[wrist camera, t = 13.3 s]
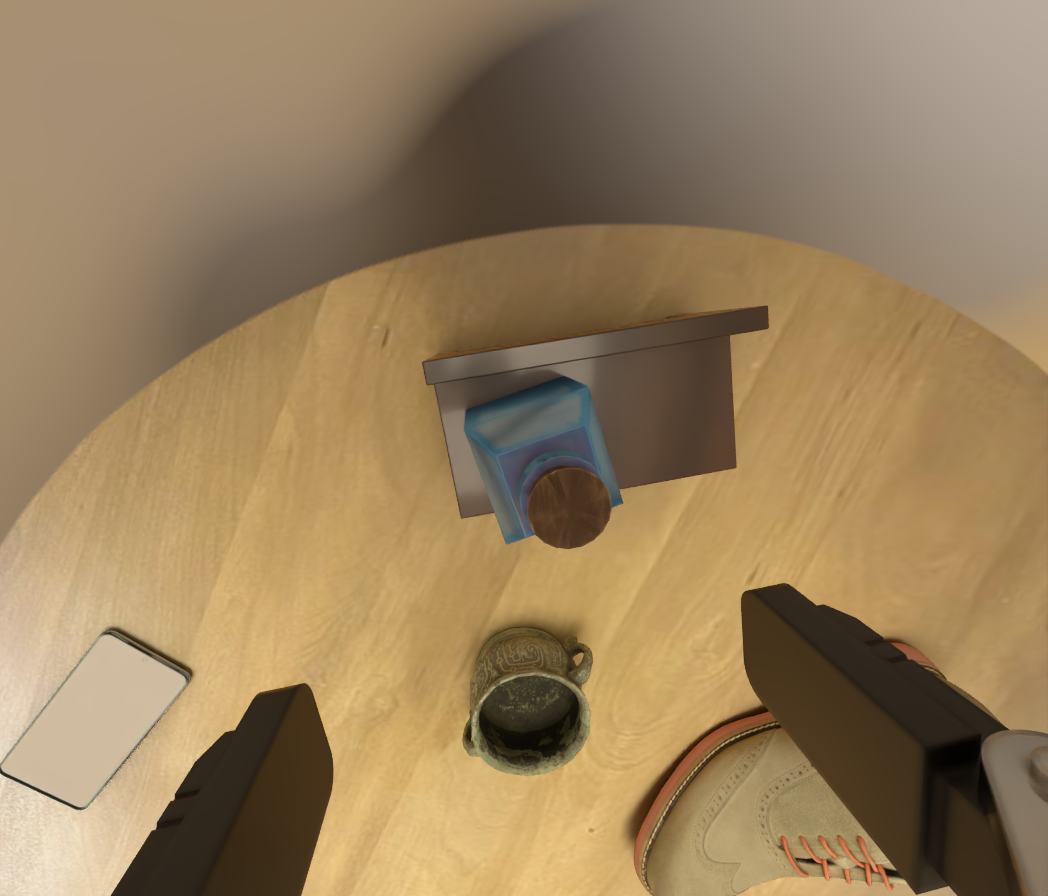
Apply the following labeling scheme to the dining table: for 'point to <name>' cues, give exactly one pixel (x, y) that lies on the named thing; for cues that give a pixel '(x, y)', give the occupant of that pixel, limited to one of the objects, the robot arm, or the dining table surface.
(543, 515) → the perfume bottle
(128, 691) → the smartphone
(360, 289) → the dining table surface
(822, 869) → the oxford shoe
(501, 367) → the wooden display stand
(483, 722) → the vessel
